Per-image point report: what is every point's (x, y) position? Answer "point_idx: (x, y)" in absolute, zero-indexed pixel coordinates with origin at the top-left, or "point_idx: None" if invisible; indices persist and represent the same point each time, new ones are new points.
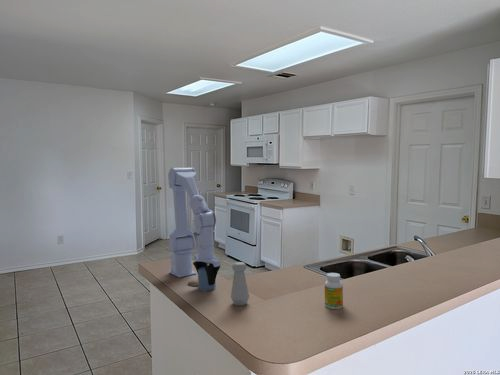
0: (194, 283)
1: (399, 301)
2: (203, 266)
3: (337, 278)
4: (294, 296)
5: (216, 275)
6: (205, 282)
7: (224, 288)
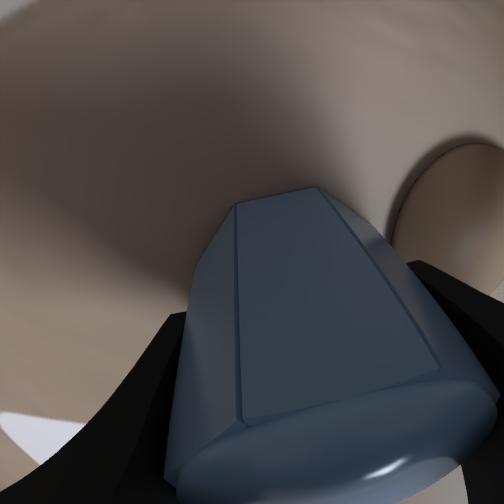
0: (470, 203)
1: None
2: (483, 448)
3: None
4: (32, 467)
5: None
6: (203, 299)
7: None
